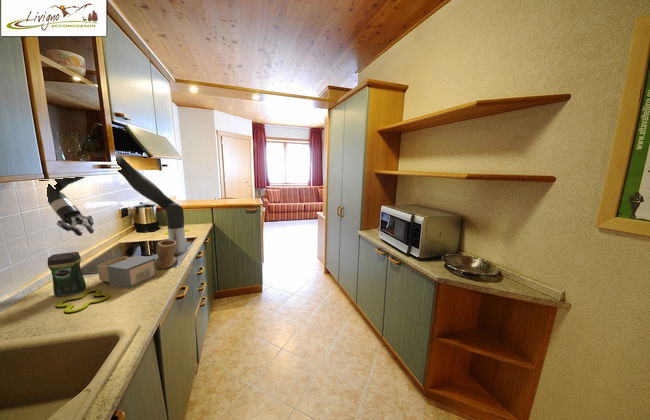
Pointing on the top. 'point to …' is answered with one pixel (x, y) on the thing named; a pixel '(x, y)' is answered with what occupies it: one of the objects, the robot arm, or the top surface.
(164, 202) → the robot arm
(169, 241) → the stone cup
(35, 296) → the top surface
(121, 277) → the sleeve
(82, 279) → the coffee jar
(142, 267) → the tray
